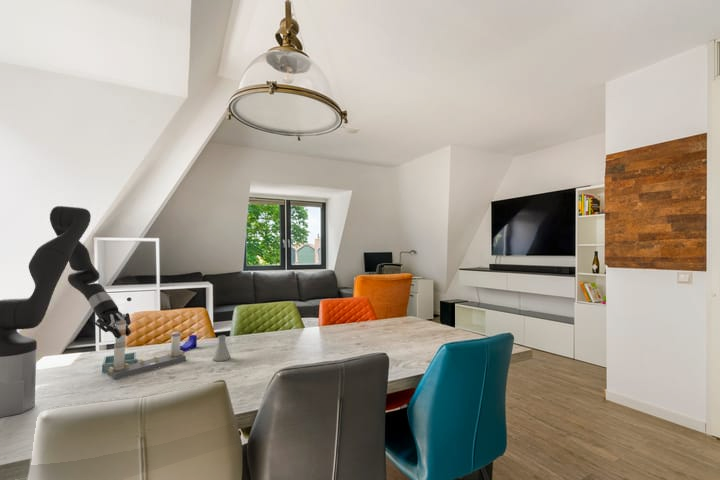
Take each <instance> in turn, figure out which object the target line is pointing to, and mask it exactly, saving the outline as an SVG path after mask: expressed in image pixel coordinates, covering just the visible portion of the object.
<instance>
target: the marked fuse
mask: <svg viewBox="0 0 720 480" xmlns="http://www.w3.org/2000/svg"><path fill="white" fill-rule="evenodd" d="M115 326H116V329H118V330H119V332H120V333H121V337H120V338H118V339H117V338H116V337H114V338H115V343H120V342H125V344H126V342H127V341H126V337H127V336H126V320H119V321H116V324H115ZM115 343H114V344H115Z"/></svg>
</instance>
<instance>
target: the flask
mask: <svg viewBox="0 0 720 480" xmlns="http://www.w3.org/2000/svg"><path fill="white" fill-rule="evenodd" d="M217 338H218V342H217V346H216V349H215V351H214V354H213V356H212V361H214V362H223V361H227V360H229V359H231V358H232V356H231V353H230V352H229V350H228V349H229V348H228V346H227V342H226V338H227V336H226V335H223V334H222V335H218V336H217Z"/></svg>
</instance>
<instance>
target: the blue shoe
mask: <svg viewBox="0 0 720 480" xmlns="http://www.w3.org/2000/svg"><path fill="white" fill-rule="evenodd" d="M197 336H198V335H197V334H190V335H189V337H188V340H187V341H185V342H184V343H183V344H182V345H180V350H181V351H184V352H187V351H190V350H192V349H195V348H197V346H198V344H197V342H198V341H197V339H198V337H197ZM189 349H190V350H189ZM186 350H187V351H186Z"/></svg>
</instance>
